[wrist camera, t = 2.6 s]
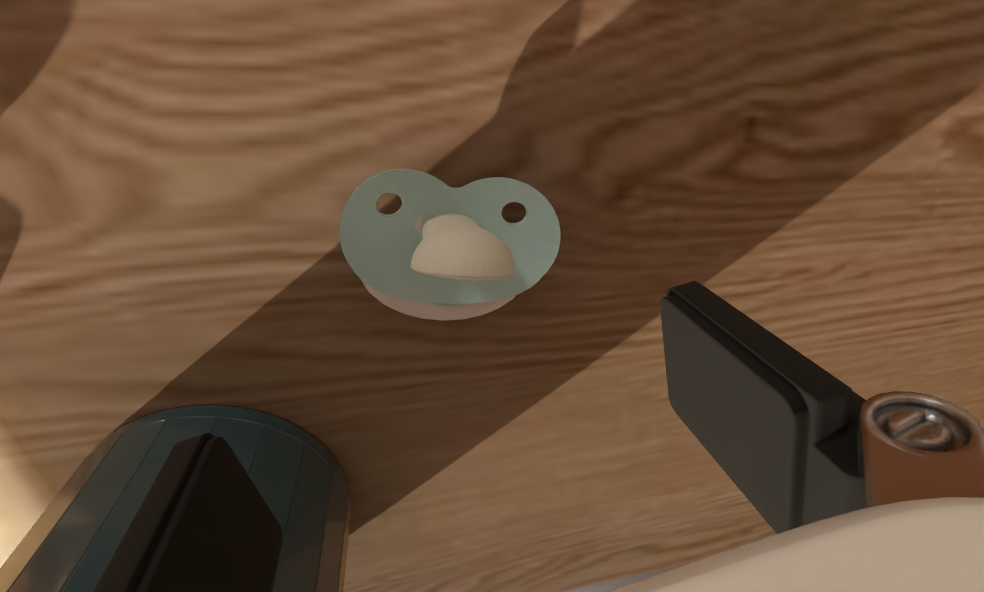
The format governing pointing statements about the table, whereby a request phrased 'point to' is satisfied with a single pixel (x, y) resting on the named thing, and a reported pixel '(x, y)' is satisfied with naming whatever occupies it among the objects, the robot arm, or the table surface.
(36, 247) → the table surface
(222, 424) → the cup
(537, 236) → the pacifier
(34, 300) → the table surface
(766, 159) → the table surface
